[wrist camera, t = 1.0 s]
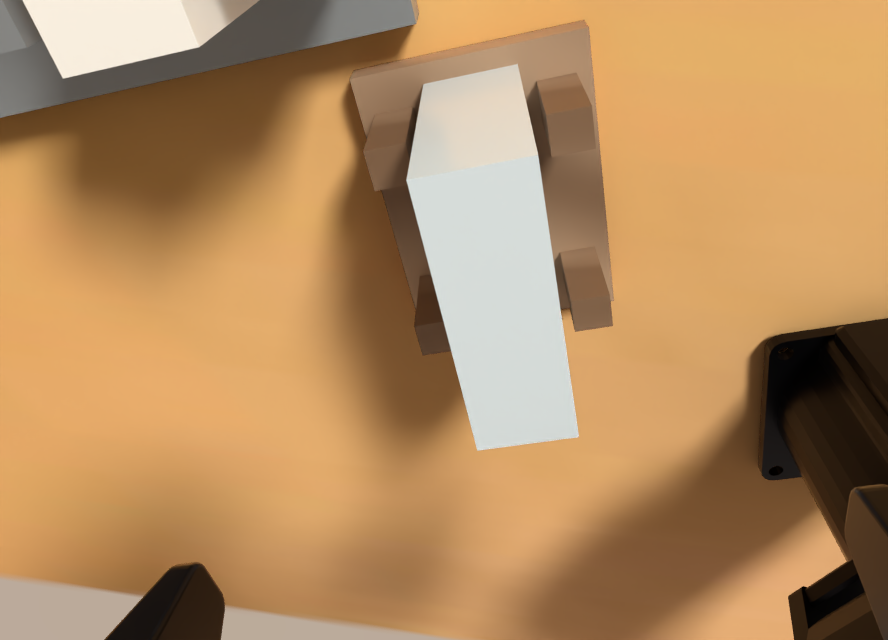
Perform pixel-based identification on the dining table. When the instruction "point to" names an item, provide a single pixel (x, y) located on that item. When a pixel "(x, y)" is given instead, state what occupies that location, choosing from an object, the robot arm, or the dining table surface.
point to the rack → (243, 40)
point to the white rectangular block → (126, 29)
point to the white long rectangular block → (492, 256)
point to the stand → (559, 150)
